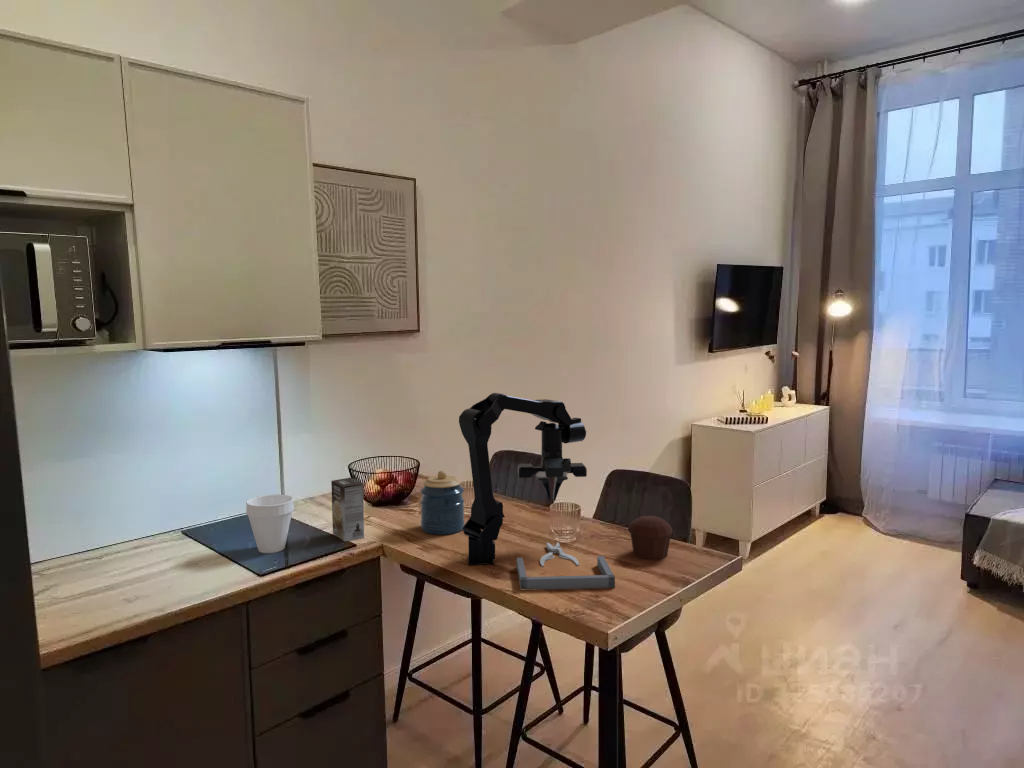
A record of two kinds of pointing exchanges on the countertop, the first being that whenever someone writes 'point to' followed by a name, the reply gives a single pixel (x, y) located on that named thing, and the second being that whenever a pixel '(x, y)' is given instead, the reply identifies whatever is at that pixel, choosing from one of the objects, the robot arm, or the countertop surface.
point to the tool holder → (568, 579)
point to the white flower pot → (270, 521)
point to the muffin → (650, 537)
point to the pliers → (558, 550)
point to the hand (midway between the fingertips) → (551, 500)
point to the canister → (442, 505)
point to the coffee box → (347, 509)
